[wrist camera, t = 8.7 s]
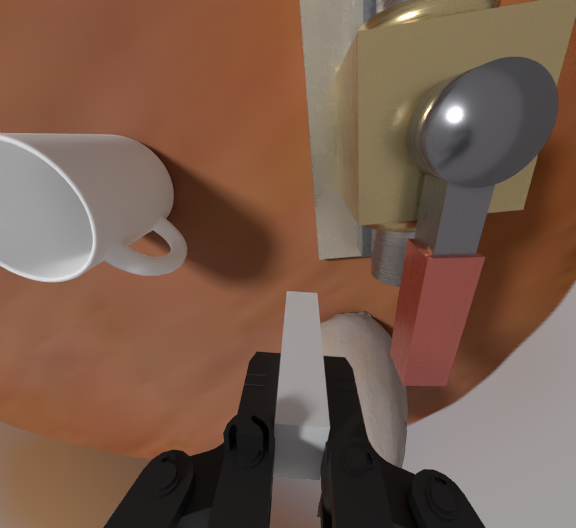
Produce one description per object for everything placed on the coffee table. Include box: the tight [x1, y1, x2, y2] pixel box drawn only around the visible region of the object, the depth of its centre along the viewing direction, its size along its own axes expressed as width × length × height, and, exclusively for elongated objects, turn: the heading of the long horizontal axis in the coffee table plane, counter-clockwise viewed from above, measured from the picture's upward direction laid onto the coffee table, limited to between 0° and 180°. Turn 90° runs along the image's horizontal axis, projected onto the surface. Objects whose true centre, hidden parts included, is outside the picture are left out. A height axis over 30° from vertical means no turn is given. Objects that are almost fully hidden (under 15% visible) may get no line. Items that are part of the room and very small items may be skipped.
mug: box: [0, 133, 187, 282], centre depth 19 cm, size 12×8×10 cm
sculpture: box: [320, 311, 408, 468], centre depth 24 cm, size 13×12×15 cm
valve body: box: [299, 0, 576, 287], centre depth 16 cm, size 20×12×10 cm, turn 7°
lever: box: [390, 57, 558, 386], centre depth 13 cm, size 15×4×3 cm, turn 3°
